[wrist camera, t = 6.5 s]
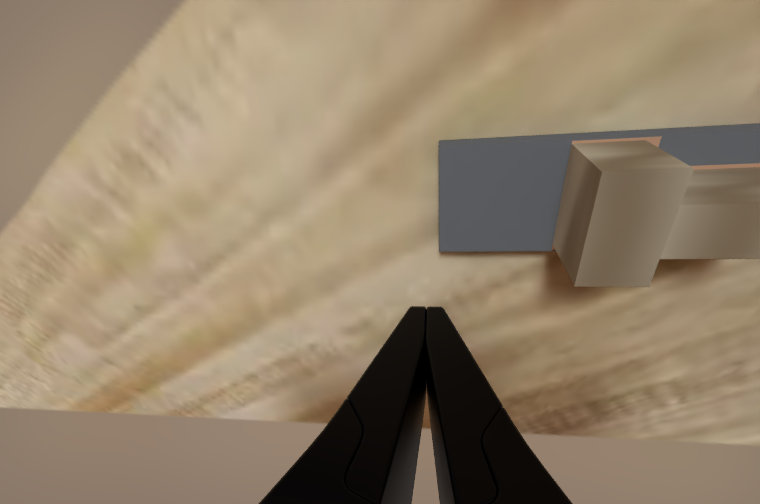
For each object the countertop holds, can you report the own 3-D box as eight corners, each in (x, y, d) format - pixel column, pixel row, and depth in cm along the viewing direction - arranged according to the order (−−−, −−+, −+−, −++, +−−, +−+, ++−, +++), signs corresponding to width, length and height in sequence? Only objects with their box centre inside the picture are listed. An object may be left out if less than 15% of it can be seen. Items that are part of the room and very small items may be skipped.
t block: (789, 132, 12) (878, 161, 10) (734, 242, 15) (795, 287, 12) (571, 143, 14) (602, 171, 11) (552, 244, 16) (574, 286, 13)
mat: (803, 121, 13) (822, 127, 12) (742, 239, 16) (756, 249, 15) (438, 140, 15) (438, 146, 14) (439, 242, 18) (439, 251, 17)
